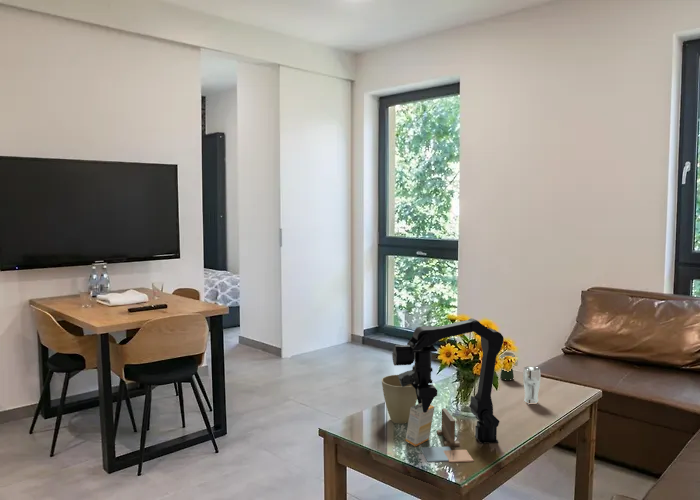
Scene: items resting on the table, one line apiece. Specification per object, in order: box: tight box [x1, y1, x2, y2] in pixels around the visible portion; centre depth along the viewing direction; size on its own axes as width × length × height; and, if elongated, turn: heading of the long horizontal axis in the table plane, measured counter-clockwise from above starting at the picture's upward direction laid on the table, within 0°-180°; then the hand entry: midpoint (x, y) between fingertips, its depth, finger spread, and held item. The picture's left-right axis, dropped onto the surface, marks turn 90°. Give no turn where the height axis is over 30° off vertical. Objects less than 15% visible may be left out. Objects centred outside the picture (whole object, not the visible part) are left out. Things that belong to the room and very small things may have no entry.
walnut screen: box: [436, 408, 461, 447], centre depth 195 cm, size 5×12×9 cm, turn 6°
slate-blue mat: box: [420, 446, 455, 463], centre depth 183 cm, size 10×10×1 cm
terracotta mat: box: [444, 449, 474, 463], centre depth 182 cm, size 8×8×1 cm
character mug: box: [499, 351, 519, 381], centre depth 264 cm, size 11×7×13 cm, turn 43°
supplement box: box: [405, 403, 435, 447], centre depth 192 cm, size 8×5×13 cm, turn 136°
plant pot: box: [381, 374, 418, 425], centre depth 213 cm, size 15×15×16 cm
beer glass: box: [522, 365, 541, 403], centre depth 232 cm, size 7×7×15 cm
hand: (422, 408), depth 190 cm, fingers open, 8 cm apart
